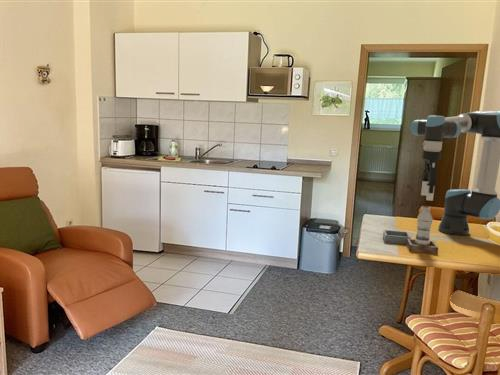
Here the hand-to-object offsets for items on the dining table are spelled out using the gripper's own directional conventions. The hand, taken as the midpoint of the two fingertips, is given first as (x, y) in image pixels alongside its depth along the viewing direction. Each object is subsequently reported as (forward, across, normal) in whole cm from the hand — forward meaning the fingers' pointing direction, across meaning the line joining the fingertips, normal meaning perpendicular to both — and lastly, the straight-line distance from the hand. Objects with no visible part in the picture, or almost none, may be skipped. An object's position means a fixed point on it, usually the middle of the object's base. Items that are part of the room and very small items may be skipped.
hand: (426, 197), depth 202 cm
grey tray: (+24, -12, -10) cm, 29 cm away
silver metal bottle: (+24, 0, 0) cm, 24 cm away
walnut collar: (+24, 0, 0) cm, 24 cm away
